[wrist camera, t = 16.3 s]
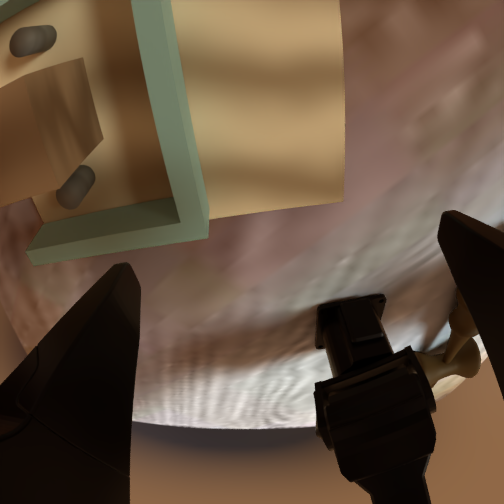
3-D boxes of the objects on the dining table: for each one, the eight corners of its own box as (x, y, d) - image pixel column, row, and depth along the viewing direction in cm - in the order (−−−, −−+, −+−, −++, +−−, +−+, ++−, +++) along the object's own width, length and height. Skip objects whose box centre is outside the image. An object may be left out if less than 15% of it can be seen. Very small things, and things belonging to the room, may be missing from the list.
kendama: (496, 265, 28) (449, 363, 40) (431, 280, 29) (395, 379, 41) (523, 301, 23) (462, 394, 36) (456, 324, 24) (406, 414, 36)
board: (337, 192, 21) (356, 223, 18) (61, 236, 21) (42, 269, 18) (320, -80, 9) (342, -100, 6) (-10, 8, 9) (-46, 12, 7)
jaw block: (103, 138, 16) (59, 188, 11) (48, 156, 16) (-3, 208, 11) (83, 57, 13) (23, 75, 8) (25, 82, 13) (-40, 112, 8)
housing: (209, 208, 19) (208, 238, 17) (50, 238, 19) (33, 266, 17) (161, -64, 9) (149, -81, 7) (-21, 19, 9) (-52, 25, 7)
